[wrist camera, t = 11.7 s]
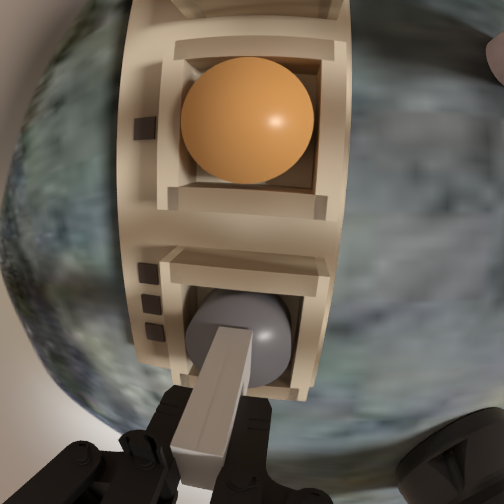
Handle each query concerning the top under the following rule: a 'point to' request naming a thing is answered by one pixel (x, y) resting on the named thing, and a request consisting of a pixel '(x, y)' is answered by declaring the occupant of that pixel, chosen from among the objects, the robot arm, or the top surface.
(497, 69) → the smoothie
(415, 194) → the top surface
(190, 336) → the charcoal button
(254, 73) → the orange button
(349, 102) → the button panel
